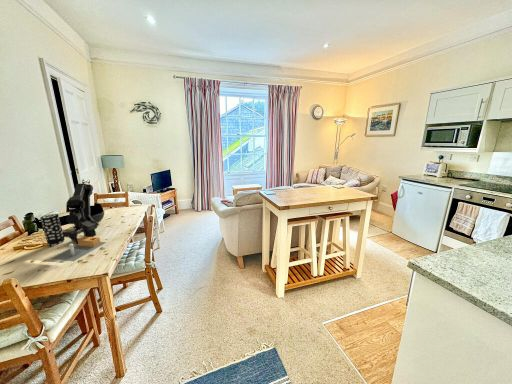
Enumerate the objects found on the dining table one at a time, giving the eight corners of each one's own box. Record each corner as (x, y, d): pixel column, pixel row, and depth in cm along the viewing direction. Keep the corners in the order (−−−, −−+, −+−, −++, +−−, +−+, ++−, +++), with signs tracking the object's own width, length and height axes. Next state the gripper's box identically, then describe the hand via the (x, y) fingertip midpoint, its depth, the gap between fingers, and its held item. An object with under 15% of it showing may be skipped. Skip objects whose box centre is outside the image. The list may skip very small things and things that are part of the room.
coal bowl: (69, 227, 164) (63, 205, 159) (96, 218, 182) (92, 198, 177) (85, 232, 157) (80, 208, 152) (111, 222, 175) (107, 200, 170)
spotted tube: (68, 242, 141) (61, 214, 136) (53, 248, 134) (45, 219, 129) (60, 240, 144) (53, 213, 139) (45, 246, 136) (37, 217, 131)
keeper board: (50, 261, 120) (46, 246, 118) (86, 242, 141) (83, 230, 139) (74, 263, 118) (71, 249, 115) (107, 244, 139) (104, 231, 136)
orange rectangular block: (77, 245, 134) (76, 239, 133) (84, 241, 139) (83, 236, 138) (94, 246, 133) (92, 241, 132) (100, 243, 137) (99, 237, 136)
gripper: (75, 224, 122) (81, 248, 126) (102, 213, 140) (106, 234, 144) (59, 223, 123) (65, 247, 127) (88, 212, 141) (92, 233, 145)
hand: (84, 240), depth 136 cm, fingers open, 9 cm apart
